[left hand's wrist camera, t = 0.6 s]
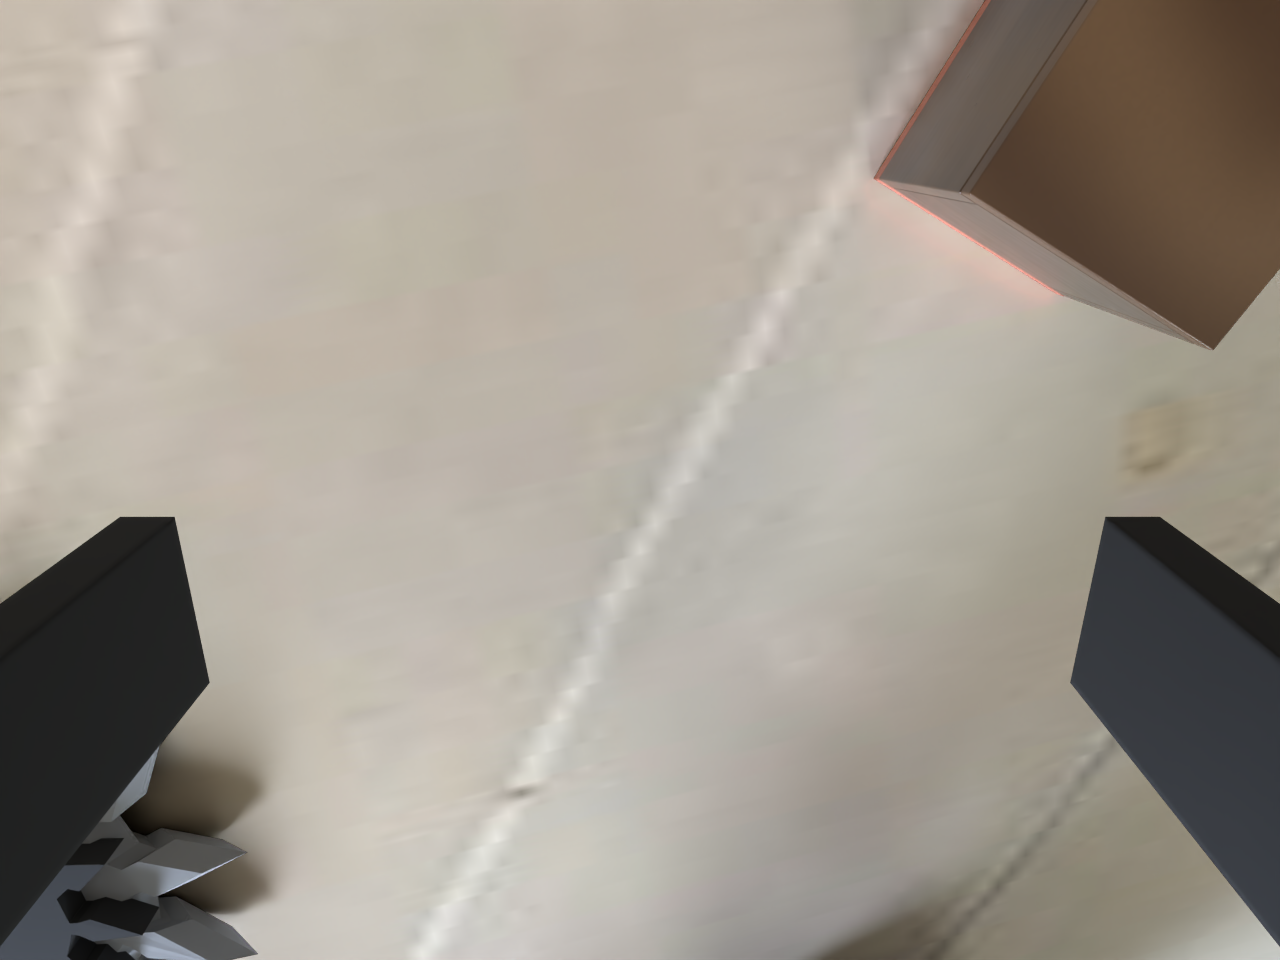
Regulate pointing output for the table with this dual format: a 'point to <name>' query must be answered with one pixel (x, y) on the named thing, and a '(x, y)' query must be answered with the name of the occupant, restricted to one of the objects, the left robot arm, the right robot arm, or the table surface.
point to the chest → (991, 141)
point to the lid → (1153, 157)
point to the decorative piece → (128, 897)
